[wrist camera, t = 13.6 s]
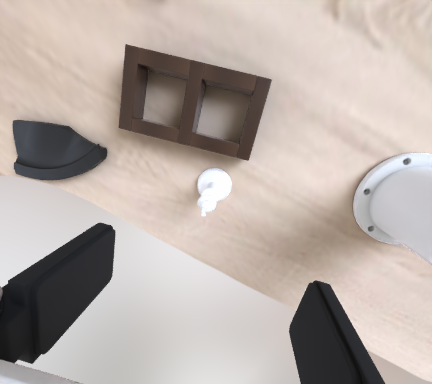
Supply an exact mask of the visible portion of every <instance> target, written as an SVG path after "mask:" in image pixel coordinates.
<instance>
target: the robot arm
mask: <svg viewBox="0 0 432 384" xmlns="http://www.w3.org/2000/svg"><path fill="white" fill-rule="evenodd" d="M353 211H354V216H355V219H356V222H357V223H358V225H359V226H360V228H361V229H362V230H363V231H365V232H366V233H367V234H368V235H369V236H371V237H372V238H374V239H376V240H378V241H380V242H383V243H387V244H395V245H404V246H405V247H407V248H408V249H410V250H411V251H413V252H414V253H415V254H417V255H418V256H420V257H421V258H423V259H424V260H425V261H427V262H428V263H430V264H431V265H432V154H428V153H406V154H401V155H398V156H394V157H392V158H390V159H388V160H385V161H383V162H382V163H380V164H379V165H377V166H376V167H374V168H373V169H372V170H371V171H370V172H369V173H368V174H367V175H366V176H365V177H364V179H363V180H362V181H361V183H360V184H359V186H358V188H357V190H356V193H355V196H354V201H353ZM114 245H115V230H114V229H113V227H112V226H111V225H107V224H104V223H98V224H96V225H95V226H93V227H91V228H90V229H88V230H86V231H85V232H83V233H82V234H80V235H79V236H77V237H76V238H74V239H73V240H71V241H69V242H68V243H66V244H65V245H63V246H62V247H60V248H58V249H57V250H55V251H54V252H52V253H51V254H49V255H48V256H46V257H44V258H43V259H41V260H40V261H38V262H37V263H35V264H34V265H32V266H30V267H29V268H27V269H26V270H24V271H23V272H21V273H20V274H18V275H16V276H15V277H13V278H12V279H10V280H8V284H7V285H5V286H4V287H2V288H1V287H0V384H81V383H78V382H75V381H72V380H69V379H66V378H62V377H59V376H56V375H53V374H49V373H46V372H42V371H39V370H35V369H32V368H28V367H25V366H21V365H18V364H14V363H15V362H16V361H17V360H21V361H25V362H28V363H31V364H32V363H34V361H35V360H36V359H37V358H38V357H39V356H40V355H41V354H45V353H47V352H48V351H49V350H50V349H51V348H52V347H53V345H54V344H55V343H56V342H57V341H58V340H59V338H60V337H61V336H62V335H63V334H64V333H65V332H66V330H67V329H68V328H69V327H70V326H71V325H72V324H73V323H74V322H75V320H76V319H77V318H78V317H79V316H80V315H81V314H82V312H83V311H84V310H85V309H86V308H87V307H88V306H89V304H90V303H91V302H92V301H93V300H94V299H95V298H96V296H97V295H98V294H99V293H100V292H101V291H102V290H103V288H104V287H105V286H106V285H107V284H108V283H109V282H110V280H111V277H112V273H113V259H114ZM289 329H290V330H289V333H290V338H291V343H292V347H293V351H294V356H295V360H296V365H297V369H298V373H299V378H300V382H301V384H385V382H384V381H383V379H382V377H381V375H380V373H379V372H378V370H377V368H376V366H375V364H374V363H373V361H372V359H371V357H370V356H369V354H368V352H367V350H366V348H365V347H364V345H363V343H362V341H361V339H360V338H359V336H358V334H357V332H356V331H355V329H354V327H353V325H352V323H351V322H350V320H349V318H348V316H347V314H346V313H345V311H344V309H343V307H342V306H341V304H340V302H339V300H338V298H337V297H336V295H335V293H334V291H333V290H332V288H331V286H330V285H329V284H327V283H323V282H320V281H314V282H313V283H309V285H308V287H307V289H306V291H305V293H304V295H303V298H302V300H301V302H300V304H299V306H298V309H297V311H296V313H295V315H294V318H293V320H292V322H291V324H290V328H289Z"/></svg>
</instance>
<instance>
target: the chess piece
mask: <svg viewBox="0 0 432 384" xmlns="http://www.w3.org/2000/svg"><path fill="white" fill-rule="evenodd" d="M231 186H232V184H231V179H230V177H229V175H228V174H227V173H226V172H225V171H223V170H221V169H218V168H210V169H207V170H205V171H204V172H203V173H202V174H201V175H200V177H199V179H198V190H199V193H200V194H201V197H200V198H199V199H198V207H199V209H200V210H201V216H205V215H206V212H211V211H213V210H214V209H215V207H216V202H218V201H221V200H223V199H225V198H226V197H227V196H228V194H229V193H230V191H231Z"/></svg>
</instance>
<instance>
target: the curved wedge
mask: <svg viewBox="0 0 432 384" xmlns="http://www.w3.org/2000/svg"><path fill="white" fill-rule="evenodd" d="M13 134H14V140H15V145H16V150H17V154H18V158H17V160H16V162H14V170H15V172H16V174H19V175H22V176H26V177H29V178H34V179H40V180H60V179H65V178H69V177H72V176H76V175H80V174H83V173H85V172H87V171H89V170H91V169H93V168H94V167H96V166H97V165H98V164H100V163H101V162H102V161H103V160H104V159H105V158H106V156H107V149H106V148H104V147H101V146H99V144H98V145H97V144H95V143H93V142H91V141H89V140H87V139H85V138H84V137H82V136H81V135H79V134H78V133H76V132H75V131H74V130H73V129H72V128H71V127H69V126H64V125H58V124H53V123H45V122H35V121H23V120H14V121H13Z"/></svg>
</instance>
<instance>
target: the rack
mask: <svg viewBox="0 0 432 384" xmlns="http://www.w3.org/2000/svg"><path fill="white" fill-rule="evenodd" d="M148 70H149V71H153V72H157V73H161V74H165V75H169V76H173V77H177V78H181V79H186V80H188V81H187V87H186V93H185V99H184V105H183V111H182V116H181V122H180V128H177V127H173V126H169V125H165V124H161V123H157V122H153V121H149V120H145V119H143V111H144V103H145V94H146V85H147V77H148ZM271 81H272V80H271V79H268V78H264V77H260V76H256V75H251V74H247V73H243V72H239V71H235V70H231V69H226V68H222V67H218V66H214V65H210V64H205V63H202V62H197V61H193V60H189V59H185V58H181V57H177V56H172V55H168V54H164V53H160V52H156V51H152V50H147V49H143V48H139V47H135V46H131V45H127V44H126V46H125V58H124V70H123V83H122V95H121V107H120V120H119V128H121V129H125V130H129V131H133V132H137V133H141V134H145V135H149V136H153V137H157V138H161V139H165V140H169V141H173V142H177V143H180V144H184V145H188V146H189V145H190V146H193V147H196V148H200V149H204V150H208V151H212V152H216V153H220V154H224V155H228V156H232V157H237V158H240V159H244V160H249V158H250V154H251V151H252V147H253V144H254V140H255V137H256V133H257V130H258V126H259V123H260V119H261V116H262V112H263V109H264V105H265V102H266V98H267V95H268V91H269V88H270V84H271ZM206 85H210V86H214V87H218V88H223V89H227V90H231V91H235V92H239V93H243V94H247V95H252V97H251V101H250V105H249V108H248V112H247V116H246V120H245V123H244V127H243V131H242V135H241V139H240V142H239V143H237V142H233V141H229V140H225V139H221V138H217V137H213V136H209V135H205V134H201V133H196V132H197V127H198V121H199V116H200V111H201V106H202V101H203V96H204V91H205V86H206Z"/></svg>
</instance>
